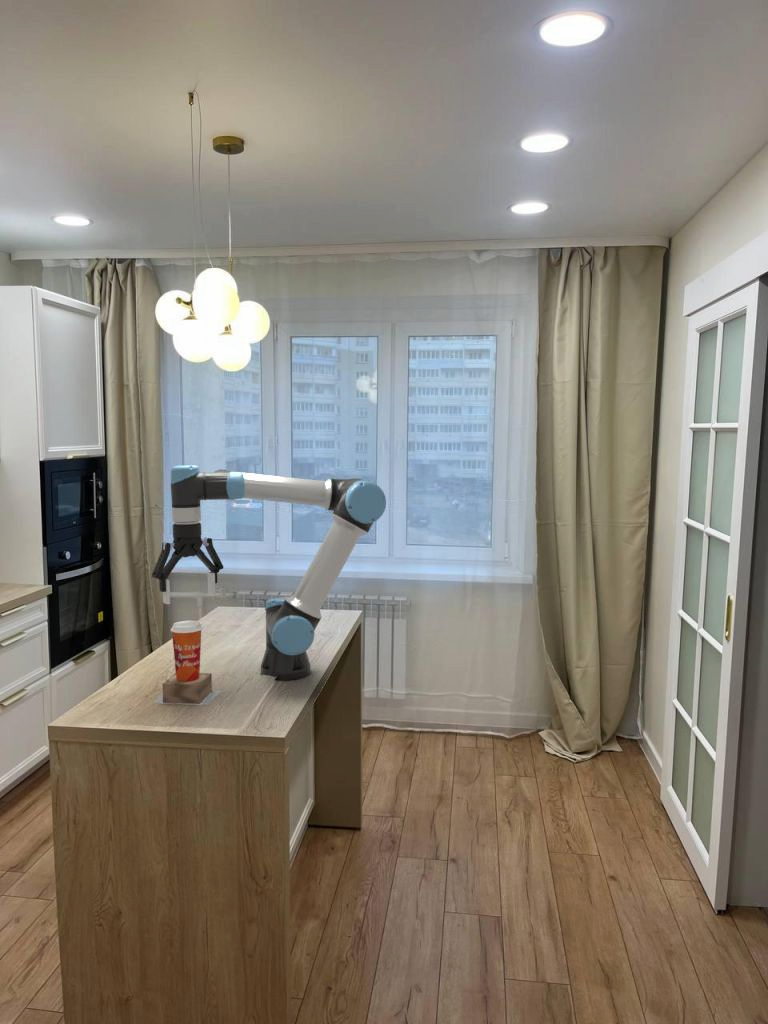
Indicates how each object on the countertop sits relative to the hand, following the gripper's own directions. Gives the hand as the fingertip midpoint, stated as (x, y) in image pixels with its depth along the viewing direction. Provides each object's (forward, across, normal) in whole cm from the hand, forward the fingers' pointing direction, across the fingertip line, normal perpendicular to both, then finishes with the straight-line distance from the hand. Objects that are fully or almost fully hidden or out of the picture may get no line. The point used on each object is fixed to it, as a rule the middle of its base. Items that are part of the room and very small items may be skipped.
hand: (189, 599), depth 199 cm
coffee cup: (+21, +3, +4) cm, 21 cm away
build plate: (+27, +4, +4) cm, 27 cm away
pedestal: (+26, +4, +4) cm, 26 cm away
